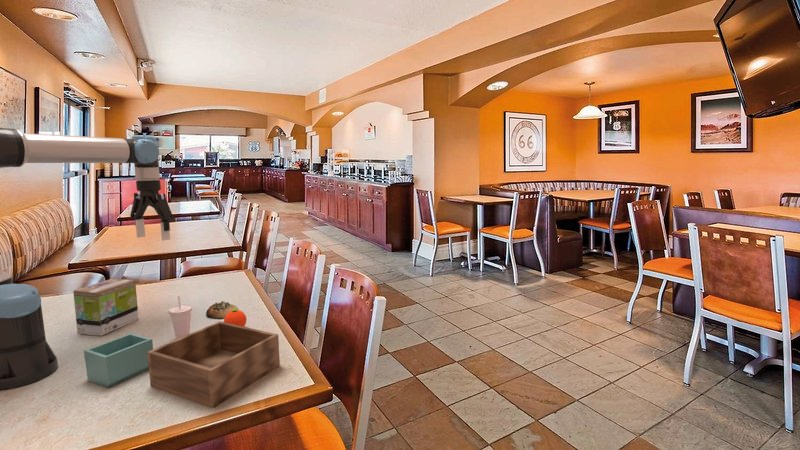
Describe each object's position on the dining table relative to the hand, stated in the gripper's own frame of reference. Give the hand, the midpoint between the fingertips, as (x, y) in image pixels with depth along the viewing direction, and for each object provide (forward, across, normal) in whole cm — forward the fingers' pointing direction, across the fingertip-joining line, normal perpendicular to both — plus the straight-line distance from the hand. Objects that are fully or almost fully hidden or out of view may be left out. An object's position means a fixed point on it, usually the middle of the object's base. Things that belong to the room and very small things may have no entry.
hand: (153, 238), depth 155 cm
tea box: (+28, +1, +17) cm, 33 cm away
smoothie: (+28, -30, +14) cm, 43 cm away
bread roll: (+28, -24, -7) cm, 37 cm away
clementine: (+28, -40, +2) cm, 48 cm away
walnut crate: (+27, -59, +26) cm, 70 cm away
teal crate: (+28, -35, +36) cm, 57 cm away
